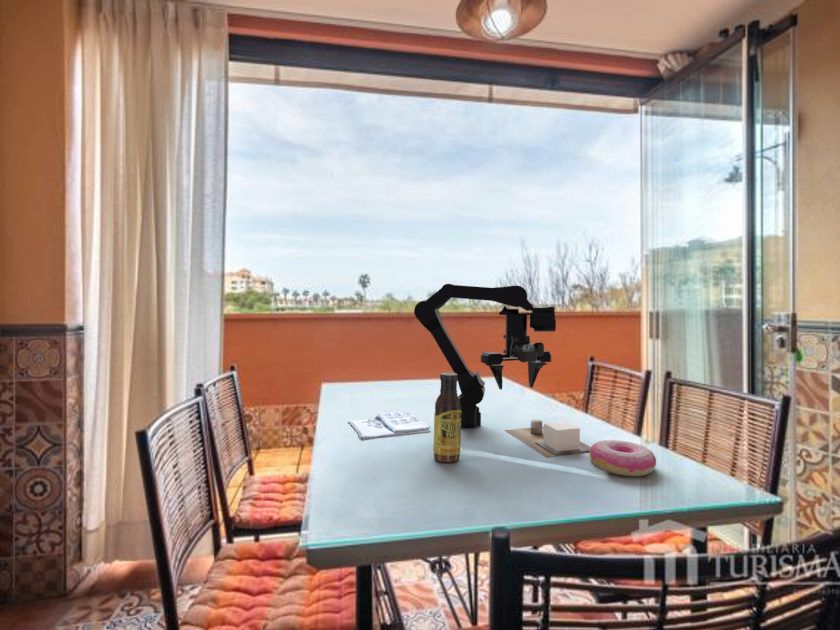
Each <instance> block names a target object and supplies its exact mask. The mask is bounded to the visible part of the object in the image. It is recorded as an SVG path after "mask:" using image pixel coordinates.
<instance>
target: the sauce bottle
mask: <svg viewBox="0 0 840 630" xmlns="http://www.w3.org/2000/svg"><path fill="white" fill-rule="evenodd" d="M439 375H440V376H439V380H440V389H439V390H440V391H439V395H438V397H437V398H436V401H435V403H434V404H435V405H434V416H433V417H434V419H433V421H434V422H433V459H434V460H436V461H437V462H440V463H454V462H456V461H459V459H460V454H461V441H462V439H461V437H462V428H461V406H460V401H459V398H458V396H459V395H458V390H457V386H458V385H457V384H458V374H456V373H454V372H441V373H439Z"/></svg>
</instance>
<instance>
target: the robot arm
mask: <svg viewBox="0 0 840 630" xmlns="http://www.w3.org/2000/svg"><path fill="white" fill-rule="evenodd" d="M452 298H453V299H462V300H463V299H464V300H466V299H467V300H475V301H476V300H478V301H491V302H495V303H498V304H503V305H504V306H503V308H502V309H501V310H499V312H498V315H499V316H505V334H503V339H505V348H504V349H503V353H501V352H497V351H483V352H482V353H481V355H480V363H483V364H484V365H485V366H487V367H489V369H490V371H491V373H492V375H493V378H494V380H495V382H496V385H497V387H498V390H501V391H502V390H503V369H504V365H503V364H502V363H503V362H510V361H511V362H512V361H520V363H527V374H528V386H529V388H532V389H533V387H534V384H535V382H536V380H537V377H538V374H539V372H540V370H541V369H542V368H543V367H544V366H547V364H548V363H552V354H551V351H548V350H545V345H544V343H543V342H540V341H539V342H535V343H531V338H530V336H529V335H528V323H529V329H532V330H533V332H535V333H536V332H537V333H545V332H546V333H556V329H557V326H556V325H557V319H556V312H555V309H556V308H555V306H546V307H541V306H539V307H535V306H534V304H533V303H531V302H530V301H529V299H528V293H527V290H526V289H525V288H524V287H523V286H521V285H509V286H508V285H507V286H499V287H487V286H486V287H485V286H474V285H473V286H471V285H460V284H458V285H457V284H453V283H445V284H443V285H442V287H440V288H439V290H437V291H436V292H435V293H434V294H432V295H431V296H429V298H427V299H426V300H421V301H419V302H417V303H416V305H415V306H414V310H413V315H414V316H415V318H416V319H417V320H418V321H419V322H420V324H421V325H422V326H423V327H424V329H426V330H427V331H428V332H429V333H430V334H431V336H432V337H433V339H434V341H435V343H436V344H437V346H438V348H439V349H440V351H441V352H442V354H443V356H444V358H445V359H446V361H447V363H448V365H449V366H450V368H451V370H452V371H453V373H456V374H458V380H457V384H458V387H459V390H460V394H459V395H458V398H459V401H460V406H461V429H466V430H467V429H470V430H471V429H475V428H477V427H481V426H482V413H481V412H480V407H479V406H477V405H478V404H480V403H481V402H482V401H483V400H484V397H485V392H486V387H485V385H486V381H484V380H483V379H482V377H481V375H480V373H479V371H478V370H477V371H476V372H473V371H472V370H471V369H470V368H469V367H468V365H467V363H466V362H465V361H464V358H463V356H462V354H461V353H460V352H459V350H458V348H457V346H456V345H455V342H454V341H453V340H452V338H451V337H450V334H449V333H448V331H447V330H446V327H445V326H444V323H443V318H442V315H441V313H440V309H441V308H442V307H443V306H444V305H445V304H446V303H448V302H449V301H450V300H451V299H452ZM507 306H510V307H513V308H508V307H507ZM519 307H520V308H521V309H523V310H524V311H526V312H519V311H520V310H519ZM529 311H531V312H529ZM528 316H529V322H528Z"/></svg>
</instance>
